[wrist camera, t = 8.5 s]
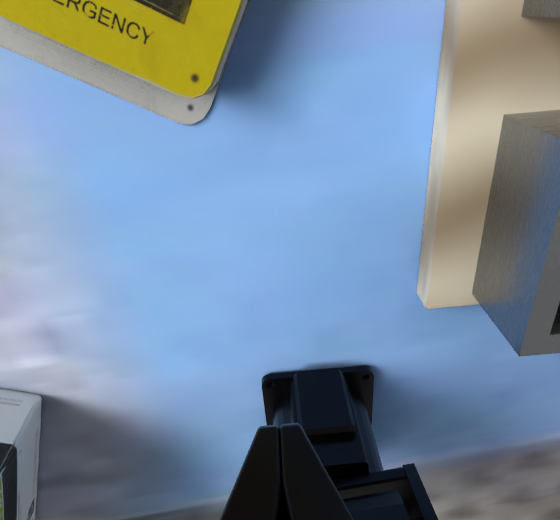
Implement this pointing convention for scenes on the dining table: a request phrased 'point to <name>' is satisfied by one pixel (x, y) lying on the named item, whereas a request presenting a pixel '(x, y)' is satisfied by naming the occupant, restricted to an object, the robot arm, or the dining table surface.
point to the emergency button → (131, 47)
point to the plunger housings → (524, 227)
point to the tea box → (19, 453)
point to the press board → (477, 130)
